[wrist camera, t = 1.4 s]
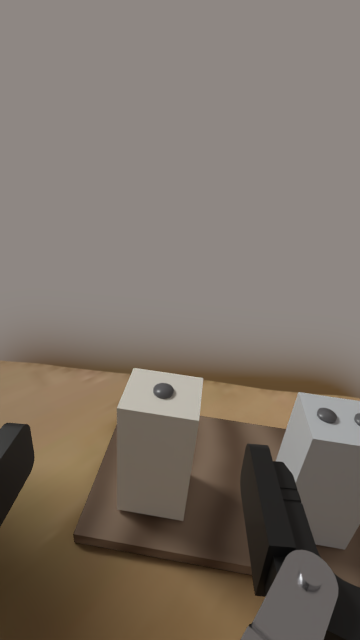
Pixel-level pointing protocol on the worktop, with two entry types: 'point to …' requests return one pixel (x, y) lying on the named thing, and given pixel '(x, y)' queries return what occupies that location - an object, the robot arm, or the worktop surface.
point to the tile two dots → (325, 465)
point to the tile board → (197, 508)
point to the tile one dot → (156, 442)
